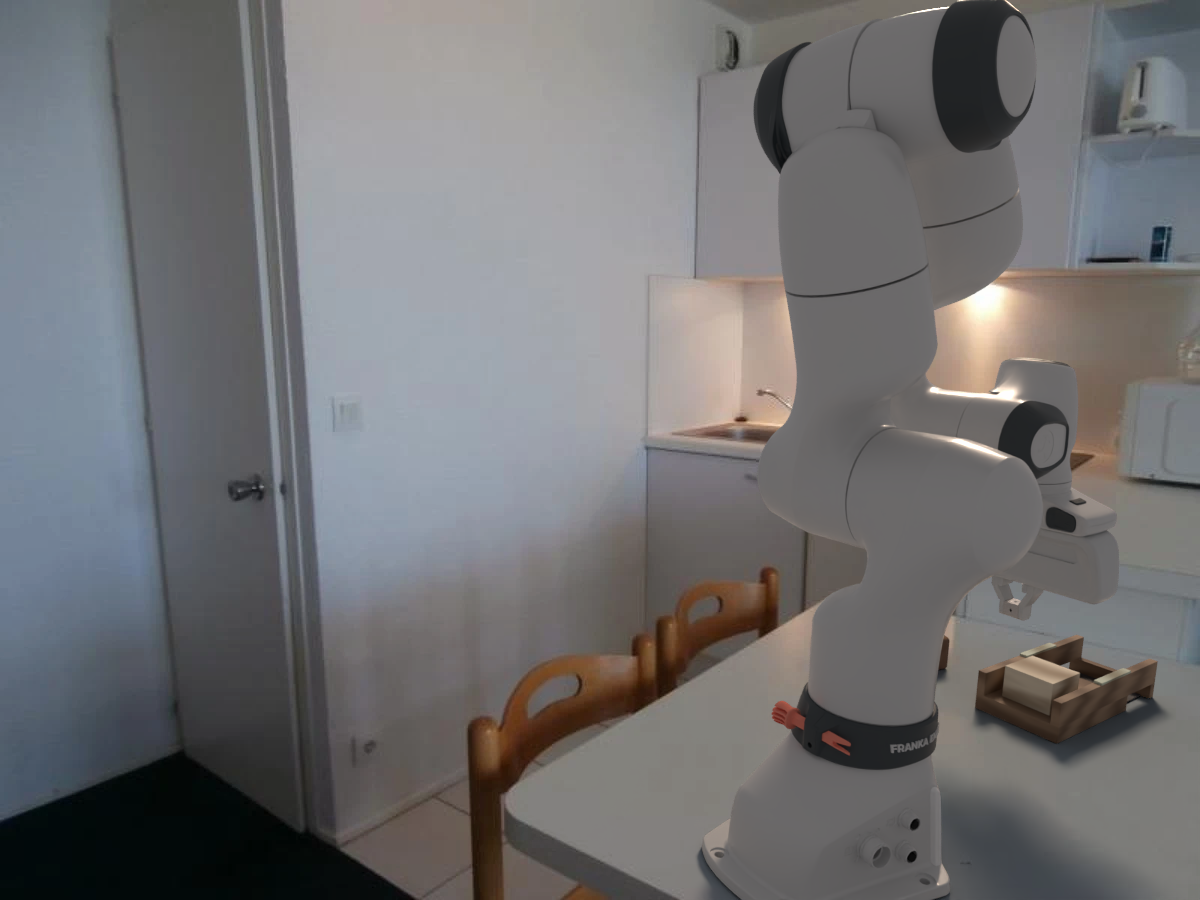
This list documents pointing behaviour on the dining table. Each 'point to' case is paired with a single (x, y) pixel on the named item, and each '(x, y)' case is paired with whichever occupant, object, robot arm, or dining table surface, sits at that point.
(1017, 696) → the birch block
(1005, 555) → the robot arm
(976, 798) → the dining table surface
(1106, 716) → the walled channel
